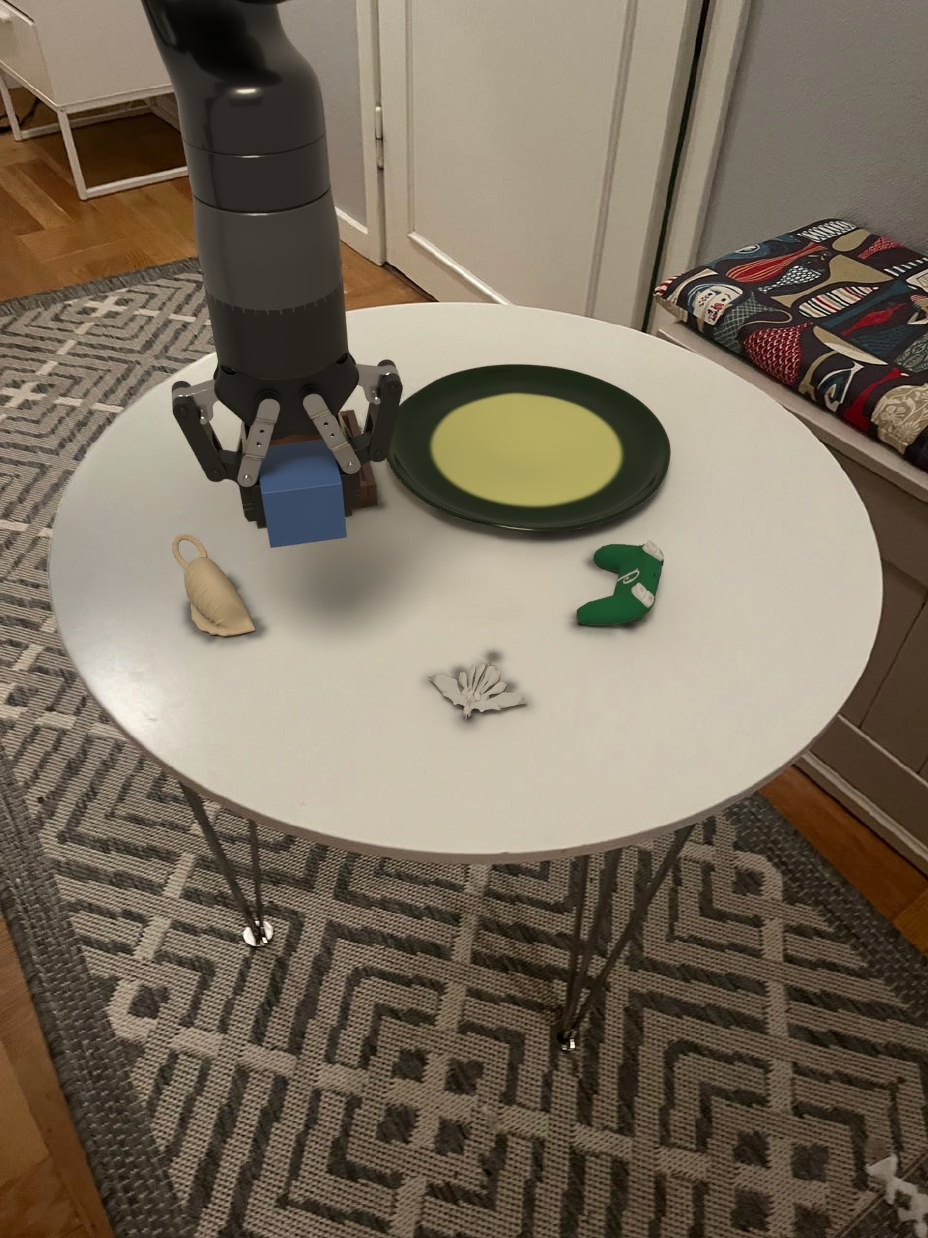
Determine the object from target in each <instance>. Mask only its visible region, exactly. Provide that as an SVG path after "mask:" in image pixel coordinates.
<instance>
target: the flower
mask: <svg viewBox="0 0 928 1238" xmlns="http://www.w3.org/2000/svg"><path fill="white" fill-rule="evenodd" d="M494 655H495V652H492V653H491V655H490V658H489V660H488V664H487V665H486V664H485V663H483V662H481V663H480V664H479V665H478V666H476V664H471V665H470V668H469V670H468V679H469V681H468V680H467V673H466V672H465V671H461V672H459V675H458V676H459V677H458V680H457V679H455V678H453V677H451V676H448V675H447V674H435V675H430V676H427V679H429V680H430V681H431V682H432V683H433V684H434V685H435V686H436V687H437V688H438V689H439V690H440V692H441V693H440V695H442V696H444V697H446V698H448V699H450V701H452V703H453V706H456V705H461V706H463V712H462V714H463V716H464V717H465V720H467V717H468V718H470V717H471V715H472V711H473V710H474V709H476V710H479V712H480V713H483V712H484V711H488V710H496V711H500V710H502V709H504V708H505V709H506V708H508V707H514V706H518V705H524V704H528V701H527V700H526V699H525V698H524V697H523V696H522V695H520V694H518V693H517V692H505V689H506V687H507V686H508V684H506V682H504V681H499V680H500V676H501V671H500V670H497V669H496V666H495V665H491V663H492V661H493V658H494ZM474 677H475V678H474ZM473 679H474V682H473ZM458 681H459V682H458ZM467 681H468V682H469V684H468V683H467ZM458 683H459V684H460V685H461V686H462V687H463V689H462V690H460V688H459V686H458V685H459V684H458ZM493 685H494V686H493ZM491 686H493V687H492V688H490V687H491ZM489 688H490V689H489ZM487 689H489V690H488V691H487ZM490 695H496V696H494V697H491V698H490Z"/></svg>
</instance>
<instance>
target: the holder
mask: <svg viewBox="0 0 928 1238" xmlns="http://www.w3.org/2000/svg"><path fill="white" fill-rule="evenodd" d="M339 412H340V414H341V416H342V419H343V421H344V423H345V425H346V427H347V429H348V431H349V432H350V434H351V436H352V438H353V437H355V436H358V435H360V434H362V431H361V430H360V426H359V421H358V419H357V415H356V412H355V410H354V409H347V410H340V411H339ZM322 439H323V438H322V436H321V434H319V435H311V436H305V435H292V436H289V437H286V438H283V439H277V440H270V443H269V446H272V445H280V444H289V443H297V442H306V441H314V440H322ZM359 474H360V487H361V501H362V502H361V504H360V507H359V508H358V509H363V508H369V507H371V508H372V507H376V506H378V489H377V481H376V478H375V476H374V472H373V469H372V465H371V461H369V462H367V463H365V464H364V465H363V466H362V467H361V468H360V471H359ZM355 509H356V510H357V508H354V509H353V510H355Z"/></svg>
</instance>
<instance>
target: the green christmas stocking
mask: <svg viewBox="0 0 928 1238" xmlns="http://www.w3.org/2000/svg"><path fill="white" fill-rule="evenodd" d="M664 556H665V555H664V553H663V551H662V550H661V548H660V547H659V546H658V545H657V544H656V543H654V542H653V541H652V540H650V539H649V540H647V542H646V543H643V544H639V545H635V544H625V543H610V544H605V545H602V546H601V547H600V548H598V549H597V550H595V552H594V553H593V560H594V563H595V564H596V565H597V566H598V567H600V568H602V569H605V570H609V571H612V572H617V573H618V576H617V579H616V583H615V587H614V589H613V590H614V591H613V594H612V595H609V596H605V597H601V598H598V599H594V600H590V601H588V602H586V603H584V604H583V605H581V606H579V607H578V608H577V609H576V616H577V618H576V619H577V623H578V624H580V625H587V626H612V625H619V624H626V623H630V622H632V621H635V620H636V621H639V620H641V619H642V618H643V617H644V615H646V614H647V613H648V612H650V611H651V610H652V608H653V607H654V605H655V602H656V598H655V597H656V594H657V592H658V588H659V584H660V580H661V576H662V572H663V571H662V570H663V567H664V565H665V564H664V563H665V557H664Z"/></svg>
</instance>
